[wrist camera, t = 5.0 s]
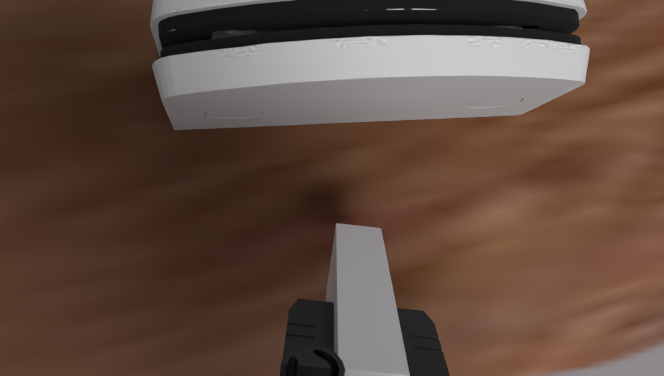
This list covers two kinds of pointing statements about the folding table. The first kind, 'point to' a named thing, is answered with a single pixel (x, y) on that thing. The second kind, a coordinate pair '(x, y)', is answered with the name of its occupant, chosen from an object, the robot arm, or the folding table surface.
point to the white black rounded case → (361, 59)
